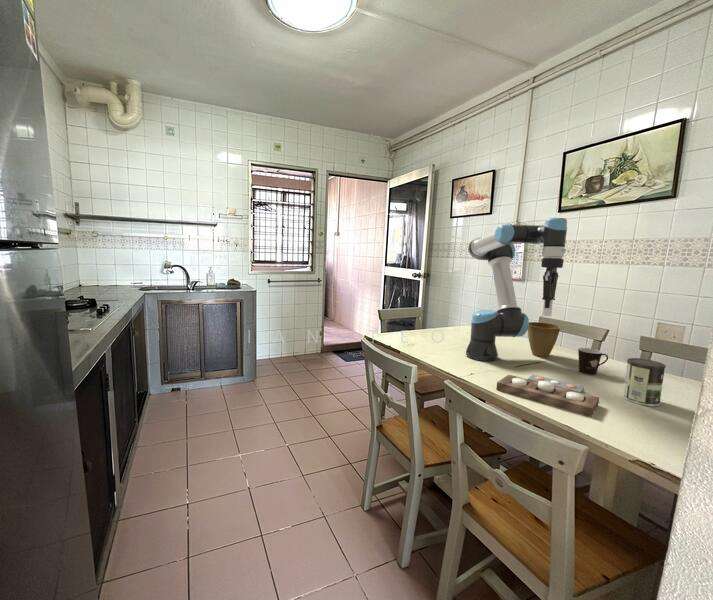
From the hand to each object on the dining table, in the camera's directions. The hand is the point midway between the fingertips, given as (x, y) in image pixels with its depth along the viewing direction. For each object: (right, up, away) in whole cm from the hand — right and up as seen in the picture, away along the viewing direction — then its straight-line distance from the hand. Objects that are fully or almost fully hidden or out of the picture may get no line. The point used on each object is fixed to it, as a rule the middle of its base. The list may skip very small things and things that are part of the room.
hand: (547, 315), depth 137 cm
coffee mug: (+26, -26, +10) cm, 38 cm away
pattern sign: (-1, -28, -7) cm, 28 cm away
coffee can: (+24, -30, -17) cm, 42 cm away
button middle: (-10, -26, -17) cm, 32 cm away
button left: (-17, -26, -10) cm, 33 cm away
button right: (-4, -28, -23) cm, 36 cm away
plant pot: (+17, -22, +36) cm, 46 cm away
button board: (-10, -29, -16) cm, 34 cm away
